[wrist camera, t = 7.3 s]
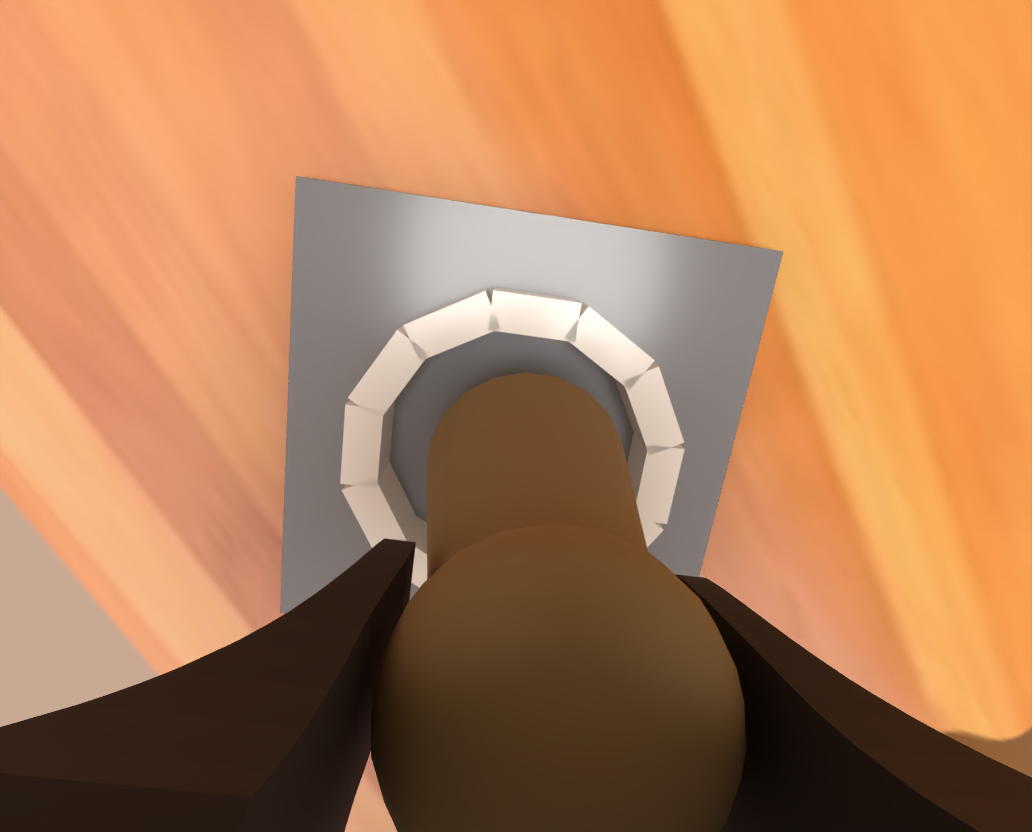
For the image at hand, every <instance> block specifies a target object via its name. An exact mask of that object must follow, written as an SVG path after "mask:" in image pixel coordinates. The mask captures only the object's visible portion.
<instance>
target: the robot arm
mask: <svg viewBox="0 0 1032 832" xmlns="http://www.w3.org/2000/svg"><path fill="white" fill-rule="evenodd" d="M415 546H416V542H410V541H402V540H394V539H386V538H384V539H383V540H382V541H380V542H379V543H377V544H376V545H375V546H374V547H373V548H372V549H370V550H369V551H368V552H367V553H366V554H365V555H363V556H362V557H361V558H360V559H359V560H357V561H356V562H355V563H354V564H353V565H351V566H350V567H349V568H348V569H347V570H345V571H344V572H343V573H341V574H340V575H339V576H338V577H336V578H335V579H334V580H332V581H331V582H330V583H329V584H327V585H326V586H325V587H323V588H322V589H321V590H319V591H318V592H317V593H315V594H314V595H312V596H311V597H309V598H308V599H306V600H305V601H304V602H302V603H301V604H299V605H298V606H296V607H295V608H293V609H292V610H290V611H289V612H287V613H286V614H284V615H283V616H281V617H279V618H278V619H276V620H274V621H273V622H271V623H269V624H267V625H266V626H264V627H262V628H260V629H258V630H257V631H255V632H253V633H251V634H249V635H247V636H246V637H244V638H242V639H240V640H238V641H236V642H234V643H232V644H230V645H228V646H226V647H223V648H221V649H219V650H217V651H215V652H212V653H210V654H208V655H206V656H204V657H201V658H199V659H197V660H195V661H193V662H191V663H188V664H186V665H184V666H182V667H180V668H177V669H175V670H172V671H170V672H168V673H165V674H162V675H160V676H157V677H155V678H152V679H150V680H147V681H144V682H142V683H139V684H136V685H134V686H131V687H128V688H125V689H122V690H120V691H117V692H114V693H111V694H108V695H106V696H103V697H100V698H97V699H94V700H91V701H88V702H84V703H81V704H78V705H75V706H72V707H68V708H65V709H61V710H58V711H54V712H51V713H47V714H44V715H41V716H37V717H34V718H30V719H27V720H24V721H20V722H17V723H13V724H10V725H6V726H3V727H0V832H344V831H345V827H346V824H347V821H348V817H349V814H350V811H351V807H352V804H353V801H354V798H355V795H356V792H357V789H358V786H359V783H360V780H361V777H362V775H363V772H364V769H365V766H366V763H367V760H368V757H369V754H370V752H371V724H370V723H371V714H372V705H373V696H374V687H375V678H376V673H377V670H378V667H379V664H380V661H381V657H382V654H383V651H384V648H385V645H386V644H387V642H388V640H389V638H390V636H391V634H392V632H393V630H394V628H395V626H396V625H397V623H398V621H399V619H400V617H401V615H402V613H403V611H404V609H405V607H406V606H407V604H408V602H409V599H410V590H411V582H412V573H413V564H414V555H415ZM676 576H677V577H678V578H679V579H680V580H681V581H682V582H683V583H684V584H685V585H686V586H687V587H688V588H689V589H690V590H691V591H692V592H694V593H695V594H696V595H697V596H698V597H699V598H700V600H701V601H702V603H703V604H704V606H705V608H706V609H707V611H708V613H709V614H710V616H711V617H712V619H713V621H714V622H715V624H716V626H717V628H718V630H719V632H720V634H721V637H722V639H723V641H724V643H725V645H726V647H727V649H728V651H729V653H730V656H731V658H732V660H733V662H734V664H735V666H736V668H737V672H738V676H739V681H740V685H741V690H742V694H743V699H744V708H745V728H746V754H745V760H744V765H743V771H742V776H741V782H740V784H739V787H738V790H737V793H736V796H735V799H734V802H733V805H732V808H731V810H730V813H729V816H728V819H727V822H726V824H725V825H724V826H723V828H722V829H721V830H720V831H719V832H1032V778H1031V777H1029V776H1027V775H1025V774H1023V773H1021V772H1019V771H1016V770H1014V769H1012V768H1010V767H1008V766H1006V765H1004V764H1002V763H999V762H997V761H995V760H993V759H991V758H989V757H987V756H985V755H983V754H981V753H979V752H977V751H975V750H973V749H972V748H970V747H968V746H966V745H964V744H962V743H960V742H958V741H956V740H954V739H952V738H950V737H948V736H946V735H944V734H942V733H940V732H938V731H937V730H935V729H933V728H931V727H929V726H927V725H926V724H924V723H922V722H920V721H918V720H917V719H915V718H913V717H911V716H909V715H908V714H906V713H904V712H903V711H901V710H899V709H898V708H896V707H894V706H893V705H891V704H889V703H887V702H886V701H884V700H882V699H881V698H879V697H877V696H876V695H874V694H872V693H870V692H869V691H867V690H866V689H864V688H862V687H861V686H859V685H858V684H856V683H855V682H853V681H851V680H850V679H848V678H847V677H845V676H844V675H842V674H841V673H839V672H838V671H836V670H835V669H833V668H832V667H830V666H829V665H827V664H826V663H825V662H823V661H822V660H820V659H819V658H817V657H816V656H814V655H813V654H811V653H810V652H809V651H807V650H806V649H804V648H803V647H801V646H800V645H799V644H797V643H796V642H794V641H793V640H792V639H790V638H789V637H788V636H786V635H785V634H783V633H782V632H781V631H779V630H778V629H777V628H775V627H774V626H773V625H771V624H770V623H769V622H767V621H766V620H765V619H763V618H762V617H761V616H759V615H758V614H757V613H755V612H754V611H753V610H751V609H750V608H749V607H747V606H746V605H745V604H743V603H742V602H741V601H739V600H738V599H736V598H735V597H734V596H732V595H731V594H730V593H728V592H727V591H725V590H724V589H722V588H721V587H720V586H718V585H716V584H715V583H713V582H712V581H710V580H708V579H707V578H702V577H694V576H686V575H678V574H676Z"/></svg>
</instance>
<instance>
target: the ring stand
mask: <svg viewBox="0 0 1032 832" xmlns="http://www.w3.org/2000/svg"><path fill="white" fill-rule="evenodd" d="M782 255H783V251H776V250H770V249H763V248H757V247H751V246H744V245H738V244H731V243H725V242H718V241H712V240H705V239H699V238H692V237H686V236H679V235H673V234H666V233H660V232H653V231H647V230H640V229H634V228H628V227H621V226H615V225H608V224H602V223H595V222H589V221H582V220H576V219H569V218H563V217H556V216H550V215H543V214H537V213H530V212H524V211H517V210H511V209H504V208H498V207H492V206H485V205H479V204H472V203H466V202H459V201H453V200H446V199H440V198H433V197H427V196H420V195H414V194H407V193H401V192H394V191H388V190H381V189H375V188H369V187H362V186H356V185H349V184H343V183H336V182H330V181H323V180H317V179H310V178H304V177H297V176H296V187H295V215H294V243H293V271H292V299H291V327H290V355H289V383H288V411H287V438H286V466H285V494H284V522H283V550H282V578H281V606H280V613H287V612H289V611H290V610H292V609H293V608H295V607H296V606H298V605H299V604H301V603H302V602H304V601H305V600H306V599H308V598H309V597H311V596H312V595H314V594H315V593H317V592H318V591H319V590H321V589H322V588H323V587H325V586H326V585H327V584H329V583H330V582H331V581H332V580H334V579H335V578H336V577H338V576H339V575H340V574H341V573H343V572H344V571H345V570H347V569H348V568H349V567H350V566H351V565H353V564H354V563H355V562H356V561H357V560H359V559H360V558H361V557H362V556H363V555H365V554H366V553H367V552H368V551H369V550H370V549H372V548H373V547H374V546H375V545H376V544H377V543H379V542H380V541H382V540H383V539H384V538H386V539H394V540H402V541H410V542H416V546H415V555H414V564H413V573H412V582H411V590H410V599H409V601H410V600H411V598H412V597H413V596H414V594H415V593H416V592H417V591H418V589H419V588H420V587H421V585H422V584H423V583H424V582H425V581H426V580H427V491H426V469H427V461H428V453H429V445H430V440H431V438H432V436H433V434H434V432H435V430H436V428H437V426H438V424H439V422H440V420H441V418H442V416H443V414H444V413H445V412H446V411H447V410H448V409H449V408H450V407H451V406H452V405H453V404H454V403H455V402H456V401H457V400H458V399H459V398H460V397H461V396H462V395H463V394H464V393H465V392H467V391H469V390H471V389H473V388H474V387H476V386H478V385H480V384H482V383H484V382H486V381H488V380H490V379H492V378H494V377H500V376H507V375H513V374H519V373H526V372H528V373H534V374H541V375H547V376H554V377H559V378H561V379H563V380H565V381H567V382H569V383H571V384H573V385H575V386H577V387H579V388H581V389H583V390H585V391H587V392H588V393H589V394H590V395H591V396H592V397H593V398H594V399H595V400H596V401H597V402H598V403H599V404H600V405H601V406H602V407H603V408H604V409H605V410H606V411H607V412H608V413H609V416H610V418H611V420H612V422H613V424H614V426H615V428H616V430H617V432H618V434H619V437H620V439H621V441H622V446H623V450H624V454H625V458H626V462H627V466H628V470H629V475H630V479H631V483H632V487H633V491H634V495H635V500H636V504H637V508H638V512H639V516H640V520H641V524H642V529H643V533H644V537H645V541H646V545H647V549H648V552H649V553H650V554H652V555H653V556H654V557H655V558H657V559H658V560H659V561H661V562H662V563H663V564H664V565H665V566H666V567H667V568H668V569H669V570H670V571H672V572H673V573H674V574H675V575H676V574H678V575H686V576H694V577H699V574H700V570H701V566H702V562H703V558H704V555H705V551H706V547H707V543H708V539H709V535H710V531H711V528H712V524H713V520H714V516H715V512H716V508H717V505H718V501H719V497H720V493H721V489H722V485H723V481H724V478H725V474H726V470H727V466H728V462H729V458H730V455H731V451H732V447H733V443H734V439H735V435H736V431H737V428H738V424H739V420H740V416H741V412H742V408H743V405H744V401H745V397H746V393H747V389H748V385H749V381H750V378H751V374H752V370H753V366H754V362H755V358H756V355H757V351H758V347H759V343H760V339H761V335H762V331H763V328H764V324H765V320H766V316H767V312H768V308H769V305H770V301H771V297H772V293H773V289H774V285H775V281H776V278H777V274H778V270H779V266H780V262H781V258H782Z"/></svg>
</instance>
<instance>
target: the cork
mask: <svg viewBox="0 0 1032 832" xmlns="http://www.w3.org/2000/svg"><path fill="white" fill-rule="evenodd" d="M426 491H427V580H426V581H425V582H424V583H423V584H422V585H421V587H420V588H419V589H418V591H417V592H416V593H415V594H414V596H413V597H412V598H411V600H410V601H409V602H408V604H407V606H406V607H405V609H404V611H403V613H402V615H401V617H400V619H399V621H398V623H397V625H396V626H395V628H394V630H393V632H392V634H391V636H390V638H389V640H388V642H387V644H386V645H385V648H384V651H383V654H382V657H381V661H380V664H379V667H378V670H377V673H376V678H375V687H374V696H373V705H372V714H371V723H370V724H371V758H372V761H373V765H374V768H375V772H376V775H377V779H378V782H379V785H380V789H381V792H382V796H383V799H384V802H385V805H386V807H387V809H388V811H389V813H390V816H391V818H392V820H393V822H394V825H395V827H396V829H397V831H398V832H719V831H720V830H721V829H722V828H723V826H724V825H725V824H726V822H727V819H728V816H729V813H730V810H731V808H732V805H733V802H734V799H735V796H736V793H737V790H738V787H739V784H740V782H741V776H742V771H743V765H744V760H745V754H746V728H745V708H744V699H743V694H742V690H741V685H740V681H739V676H738V672H737V668H736V666H735V664H734V662H733V660H732V658H731V656H730V653H729V651H728V649H727V647H726V645H725V643H724V641H723V639H722V637H721V634H720V632H719V630H718V628H717V626H716V624H715V622H714V621H713V619H712V617H711V616H710V614H709V613H708V611H707V609H706V608H705V606H704V604H703V603H702V601H701V600H700V598H699V597H698V596H697V595H696V594H695V593H694V592H692V591H691V590H690V589H689V588H688V587H687V586H686V585H685V584H684V583H683V582H682V581H681V580H680V579H679V578H678V577H677V576H676V575H675V574H674V573H673V572H672V571H670V570H669V569H668V568H667V567H666V566H665V565H664V564H663V563H662V562H661V561H659V560H658V559H657V558H655V557H654V556H653V555H652V554H650V553H649V552H648V549H647V545H646V541H645V537H644V533H643V529H642V524H641V520H640V516H639V512H638V508H637V504H636V500H635V495H634V491H633V487H632V483H631V479H630V475H629V470H628V466H627V462H626V458H625V454H624V450H623V446H622V441H621V439H620V437H619V434H618V432H617V430H616V428H615V426H614V424H613V422H612V420H611V418H610V416H609V413H608V412H607V411H606V410H605V409H604V408H603V407H602V406H601V405H600V404H599V403H598V402H597V401H596V400H595V399H594V398H593V397H592V396H591V395H590V394H589V393H588V392H587V391H585V390H583V389H581V388H579V387H577V386H575V385H573V384H571V383H569V382H567V381H565V380H563V379H561V378H559V377H554V376H547V375H541V374H534V373H528V372H526V373H519V374H513V375H507V376H500V377H494V378H492V379H490V380H488V381H486V382H484V383H482V384H480V385H478V386H476V387H474V388H473V389H471V390H469V391H467V392H465V393H464V394H463V395H462V396H461V397H460V398H459V399H458V400H457V401H456V402H455V403H454V404H453V405H452V406H451V407H450V408H449V409H448V410H447V411H446V412H445V413H444V414H443V416H442V418H441V420H440V422H439V424H438V426H437V428H436V430H435V432H434V434H433V436H432V438H431V440H430V445H429V453H428V461H427V469H426Z"/></svg>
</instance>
